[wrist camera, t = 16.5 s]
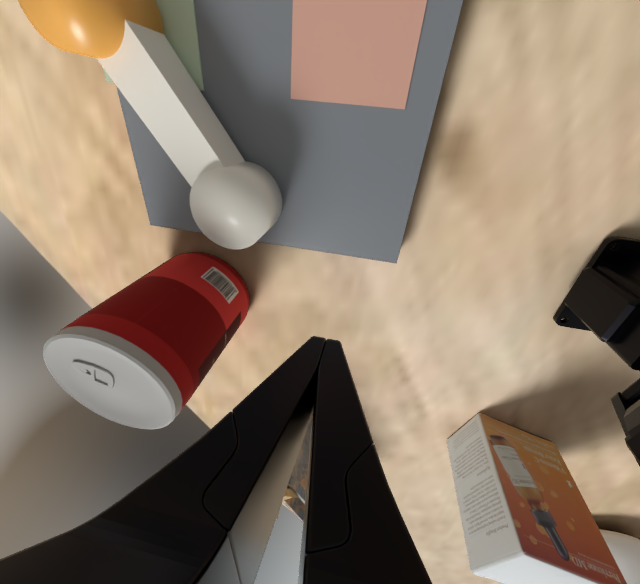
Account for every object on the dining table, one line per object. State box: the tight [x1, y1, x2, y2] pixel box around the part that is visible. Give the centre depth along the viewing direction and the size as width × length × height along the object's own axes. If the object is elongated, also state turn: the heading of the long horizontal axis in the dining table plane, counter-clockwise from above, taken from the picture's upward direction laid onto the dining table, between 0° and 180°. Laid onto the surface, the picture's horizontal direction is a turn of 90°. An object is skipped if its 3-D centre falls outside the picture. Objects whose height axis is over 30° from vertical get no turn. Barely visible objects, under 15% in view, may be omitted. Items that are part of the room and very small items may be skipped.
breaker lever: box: [18, 0, 282, 249], centre depth 15 cm, size 14×4×4 cm, turn 32°
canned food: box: [43, 252, 249, 429], centre depth 20 cm, size 8×8×11 cm
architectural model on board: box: [276, 419, 312, 523], centre depth 31 cm, size 11×3×10 cm, turn 26°
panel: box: [103, 0, 463, 263], centre depth 15 cm, size 18×20×2 cm
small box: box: [447, 413, 627, 584], centre depth 24 cm, size 8×6×10 cm
